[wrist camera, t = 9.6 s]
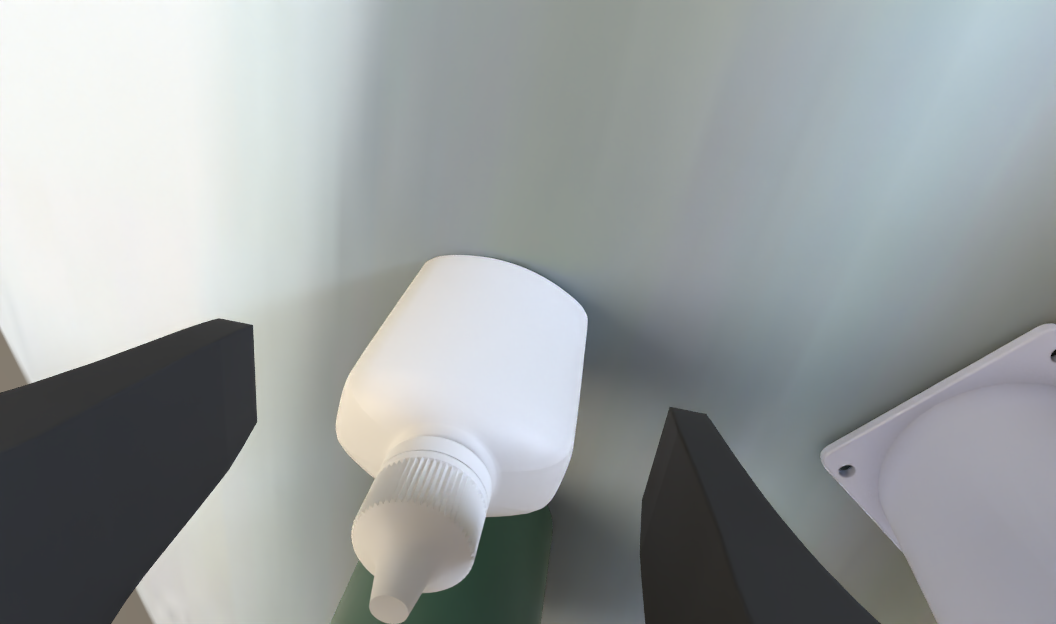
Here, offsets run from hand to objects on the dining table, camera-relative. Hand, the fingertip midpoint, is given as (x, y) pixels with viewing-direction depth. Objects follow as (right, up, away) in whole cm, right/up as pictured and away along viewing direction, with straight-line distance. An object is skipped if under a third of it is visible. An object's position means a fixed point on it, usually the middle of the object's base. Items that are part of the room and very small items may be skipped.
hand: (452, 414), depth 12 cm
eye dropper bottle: (0, +2, +11) cm, 11 cm away
